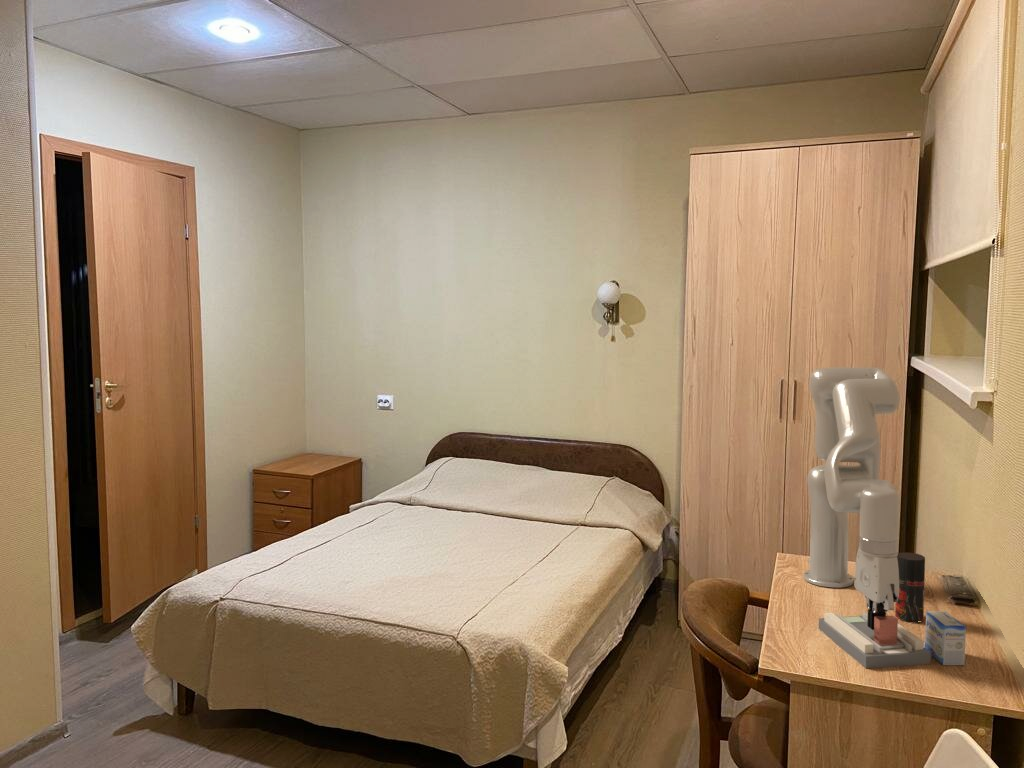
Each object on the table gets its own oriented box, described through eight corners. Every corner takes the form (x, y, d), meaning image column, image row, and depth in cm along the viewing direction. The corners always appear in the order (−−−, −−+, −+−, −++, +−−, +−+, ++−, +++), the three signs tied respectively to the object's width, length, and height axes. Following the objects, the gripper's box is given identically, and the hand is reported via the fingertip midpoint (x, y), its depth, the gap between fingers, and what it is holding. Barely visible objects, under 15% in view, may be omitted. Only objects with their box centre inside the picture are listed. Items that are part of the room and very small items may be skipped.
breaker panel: (818, 628, 178) (818, 610, 177) (876, 625, 179) (876, 607, 179) (865, 668, 158) (866, 648, 157) (930, 663, 159) (930, 643, 159)
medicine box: (923, 649, 166) (925, 610, 165) (945, 649, 166) (946, 610, 165) (943, 666, 158) (944, 625, 157) (965, 666, 158) (966, 625, 157)
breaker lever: (867, 639, 165) (868, 613, 165) (889, 637, 166) (890, 612, 165) (880, 649, 160) (881, 623, 160) (903, 647, 161) (904, 621, 160)
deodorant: (926, 623, 179) (928, 560, 178) (899, 622, 180) (900, 559, 179) (918, 613, 185) (920, 553, 184) (892, 612, 186) (893, 551, 185)
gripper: (843, 536, 171) (842, 615, 173) (881, 557, 157) (879, 644, 158) (875, 534, 172) (873, 613, 174) (916, 555, 157) (913, 641, 159)
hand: (876, 627), depth 166 cm, fingers closed
